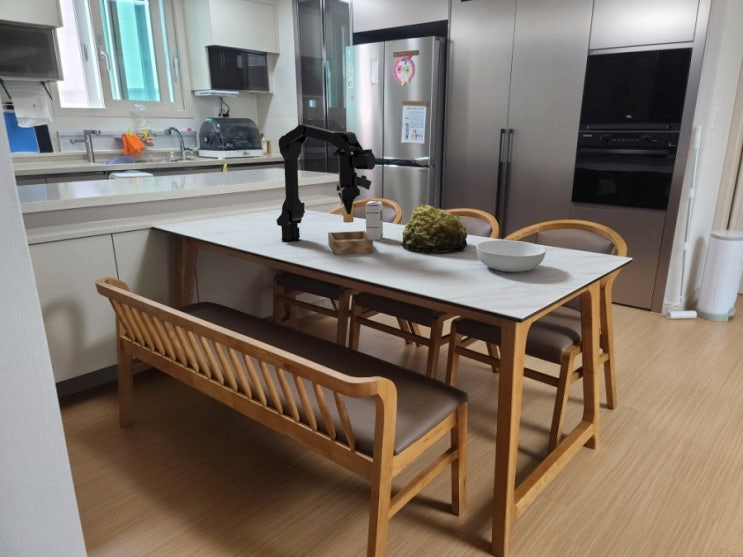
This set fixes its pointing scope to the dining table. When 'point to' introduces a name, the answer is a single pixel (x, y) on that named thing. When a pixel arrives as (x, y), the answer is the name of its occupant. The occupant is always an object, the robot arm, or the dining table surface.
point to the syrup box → (374, 220)
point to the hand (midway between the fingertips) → (348, 213)
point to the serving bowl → (510, 255)
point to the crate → (350, 242)
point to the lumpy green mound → (434, 231)
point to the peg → (347, 215)
